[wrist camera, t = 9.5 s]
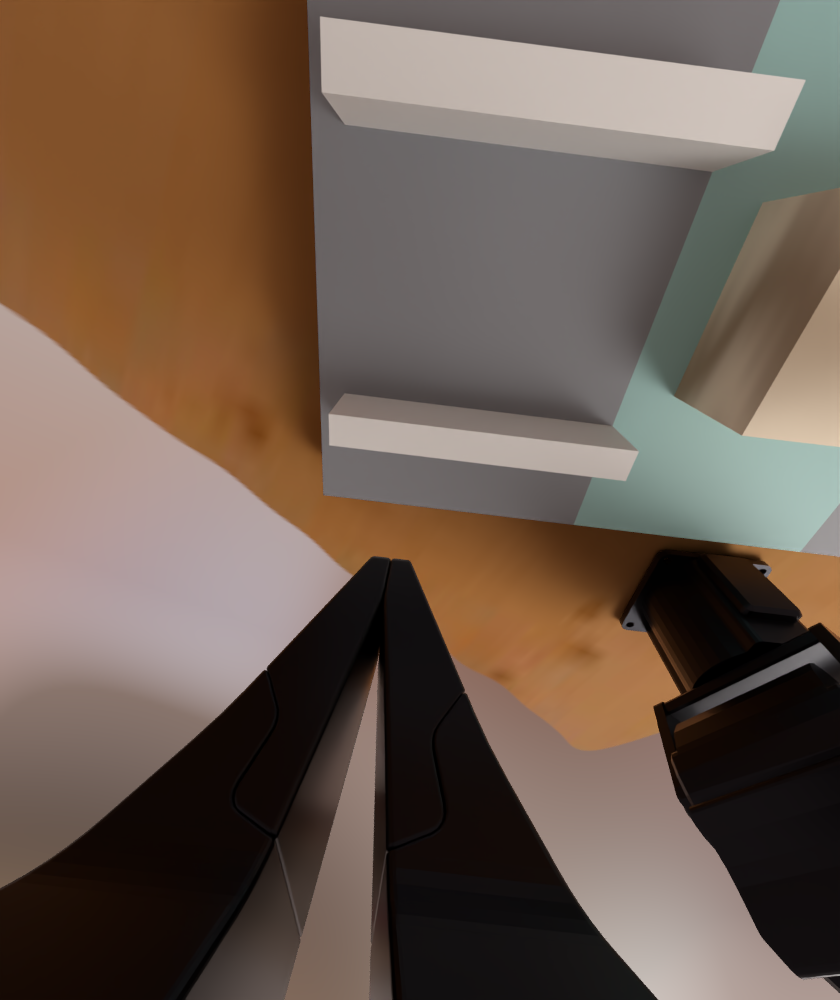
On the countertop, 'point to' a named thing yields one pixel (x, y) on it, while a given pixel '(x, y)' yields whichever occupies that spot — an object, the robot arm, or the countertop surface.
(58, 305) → the countertop surface
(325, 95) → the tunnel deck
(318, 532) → the countertop surface
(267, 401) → the countertop surface
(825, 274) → the beech block
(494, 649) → the countertop surface
